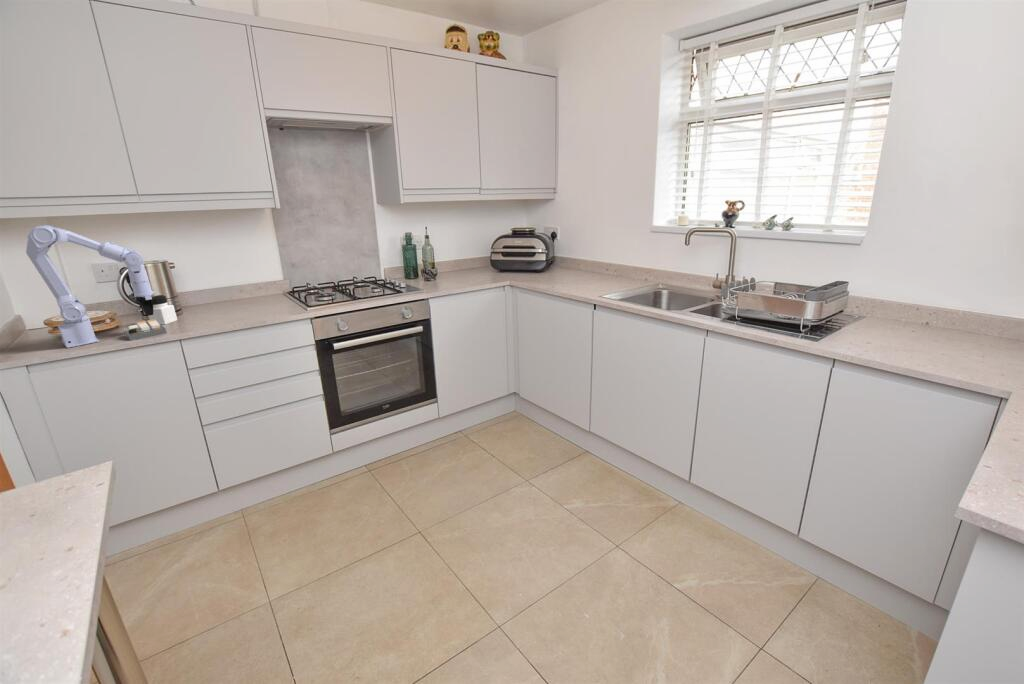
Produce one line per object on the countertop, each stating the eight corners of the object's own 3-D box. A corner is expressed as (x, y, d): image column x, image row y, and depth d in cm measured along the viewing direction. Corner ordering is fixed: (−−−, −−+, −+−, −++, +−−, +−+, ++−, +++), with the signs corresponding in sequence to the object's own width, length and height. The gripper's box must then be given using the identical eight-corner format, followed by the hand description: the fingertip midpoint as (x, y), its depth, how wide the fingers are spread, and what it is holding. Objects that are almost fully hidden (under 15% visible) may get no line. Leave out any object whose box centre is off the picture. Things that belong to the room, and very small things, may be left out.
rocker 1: (129, 329, 182) (128, 325, 182) (128, 331, 187) (126, 328, 187) (138, 327, 184) (136, 324, 184) (136, 329, 189) (134, 326, 188)
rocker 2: (141, 330, 185) (141, 328, 185) (137, 325, 189) (136, 322, 188) (149, 329, 187) (149, 326, 187) (145, 323, 191) (144, 320, 190)
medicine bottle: (178, 320, 210) (170, 293, 206) (165, 324, 203) (157, 297, 199) (163, 320, 210) (155, 294, 207) (150, 324, 204) (142, 297, 200)
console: (130, 340, 182) (128, 335, 181) (124, 336, 188) (123, 330, 187) (166, 332, 190) (165, 327, 189) (160, 328, 196) (158, 323, 196)
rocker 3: (152, 328, 188) (151, 325, 187) (147, 323, 191) (147, 320, 191) (160, 327, 190) (159, 324, 189) (155, 321, 193) (154, 318, 193)
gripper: (156, 282, 185) (166, 315, 189) (147, 278, 194) (157, 310, 198) (134, 285, 180) (145, 319, 184) (126, 281, 189) (136, 314, 193)
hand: (149, 315), depth 191 cm, fingers closed
